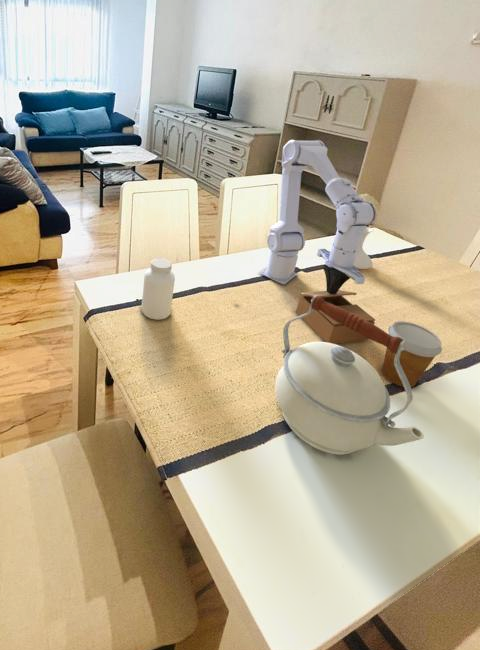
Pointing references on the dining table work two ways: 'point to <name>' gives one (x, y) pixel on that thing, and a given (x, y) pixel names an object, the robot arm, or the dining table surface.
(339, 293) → the flap
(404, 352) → the disposable coffee cup
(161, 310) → the pill bottle
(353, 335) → the carton
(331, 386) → the kettle
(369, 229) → the flower in vase
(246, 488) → the dining table surface
